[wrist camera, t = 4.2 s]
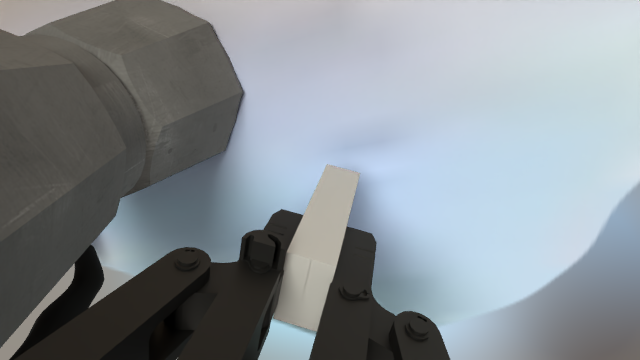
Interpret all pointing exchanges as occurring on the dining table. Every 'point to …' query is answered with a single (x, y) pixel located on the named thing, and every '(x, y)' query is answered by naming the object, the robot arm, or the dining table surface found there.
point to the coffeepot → (96, 139)
